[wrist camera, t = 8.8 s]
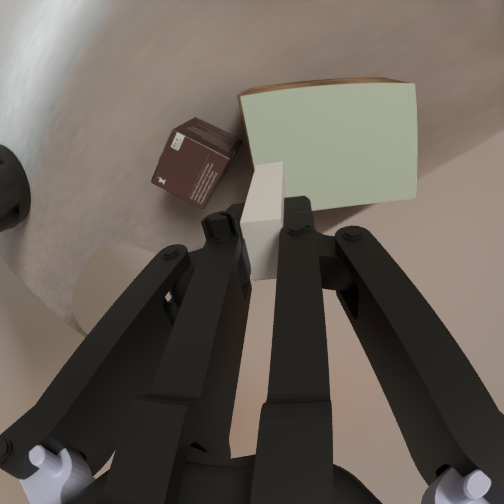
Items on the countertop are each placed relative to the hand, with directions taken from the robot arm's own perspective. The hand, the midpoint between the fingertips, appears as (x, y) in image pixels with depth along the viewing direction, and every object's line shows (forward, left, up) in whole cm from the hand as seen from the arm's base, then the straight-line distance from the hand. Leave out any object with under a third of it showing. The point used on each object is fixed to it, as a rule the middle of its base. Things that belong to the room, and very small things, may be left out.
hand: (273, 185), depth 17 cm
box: (-9, -1, -17) cm, 19 cm away
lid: (+5, 0, -7) cm, 9 cm away
